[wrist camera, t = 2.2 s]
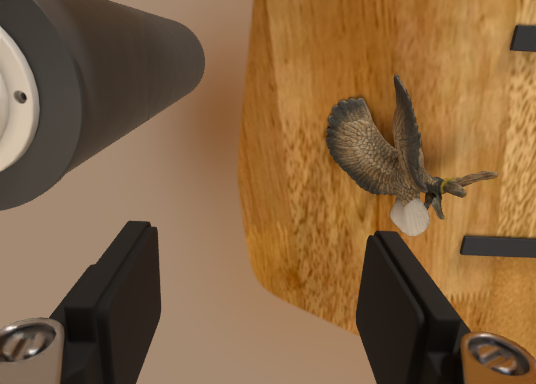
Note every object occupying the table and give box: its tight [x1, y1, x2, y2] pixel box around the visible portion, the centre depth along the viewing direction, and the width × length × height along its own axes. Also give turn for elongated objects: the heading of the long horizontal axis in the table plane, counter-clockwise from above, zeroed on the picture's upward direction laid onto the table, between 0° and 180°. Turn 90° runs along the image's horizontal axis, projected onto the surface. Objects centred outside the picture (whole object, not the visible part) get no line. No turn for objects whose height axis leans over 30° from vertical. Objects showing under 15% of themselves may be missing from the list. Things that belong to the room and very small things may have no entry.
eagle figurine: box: [326, 74, 498, 236], centre depth 25 cm, size 8×7×9 cm
